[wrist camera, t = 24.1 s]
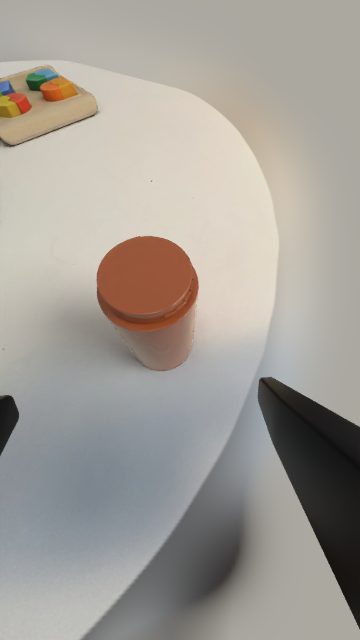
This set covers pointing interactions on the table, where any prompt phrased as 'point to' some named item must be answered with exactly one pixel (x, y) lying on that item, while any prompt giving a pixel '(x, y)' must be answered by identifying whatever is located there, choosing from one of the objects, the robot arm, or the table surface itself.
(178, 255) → the jar
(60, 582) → the table surface
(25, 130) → the puzzle board
